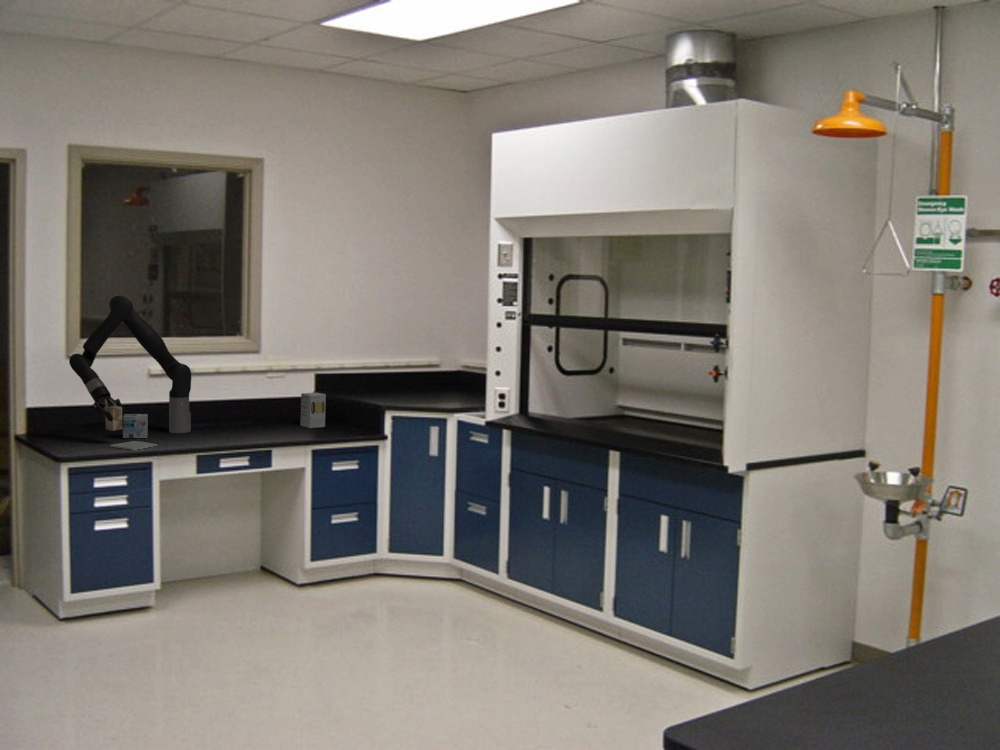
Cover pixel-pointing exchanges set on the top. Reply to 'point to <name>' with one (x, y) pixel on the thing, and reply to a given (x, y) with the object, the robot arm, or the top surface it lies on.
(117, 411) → the beech block
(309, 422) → the supplement box
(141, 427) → the light bulb box
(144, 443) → the sage tile
